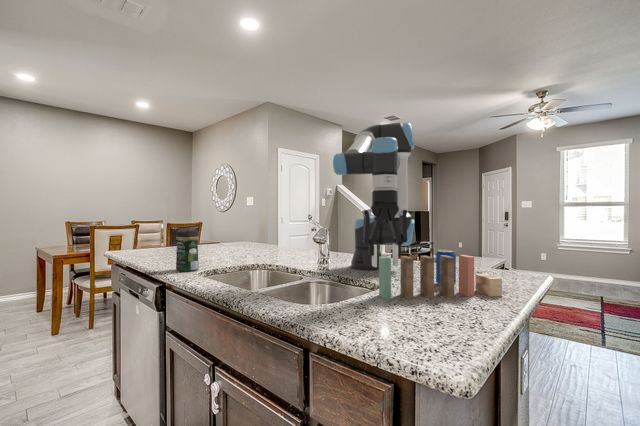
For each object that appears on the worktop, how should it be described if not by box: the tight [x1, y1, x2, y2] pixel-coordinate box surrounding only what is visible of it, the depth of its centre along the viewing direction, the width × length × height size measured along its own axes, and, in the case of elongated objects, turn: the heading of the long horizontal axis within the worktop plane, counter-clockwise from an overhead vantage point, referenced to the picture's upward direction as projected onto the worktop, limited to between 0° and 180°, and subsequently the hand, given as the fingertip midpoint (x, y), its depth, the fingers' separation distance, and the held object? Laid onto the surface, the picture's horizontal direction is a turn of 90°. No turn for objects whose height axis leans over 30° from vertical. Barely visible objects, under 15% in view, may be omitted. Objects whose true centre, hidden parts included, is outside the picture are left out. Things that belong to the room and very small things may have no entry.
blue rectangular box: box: [435, 249, 457, 286], centre depth 111 cm, size 6×6×12 cm
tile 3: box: [419, 255, 435, 299], centre depth 96 cm, size 5×2×12 cm, turn 7°
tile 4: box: [439, 255, 455, 298], centre depth 97 cm, size 5×2×12 cm, turn 7°
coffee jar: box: [175, 227, 200, 273], centre depth 138 cm, size 10×8×19 cm
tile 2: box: [400, 255, 414, 300], centre depth 95 cm, size 5×2×12 cm, turn 7°
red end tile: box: [458, 254, 475, 297], centre depth 98 cm, size 5×2×12 cm, turn 7°
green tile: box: [378, 255, 392, 301], centre depth 94 cm, size 5×2×12 cm, turn 7°
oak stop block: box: [475, 273, 503, 297], centre depth 99 cm, size 7×4×5 cm, turn 7°
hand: (384, 265), depth 95 cm, fingers open, 6 cm apart
